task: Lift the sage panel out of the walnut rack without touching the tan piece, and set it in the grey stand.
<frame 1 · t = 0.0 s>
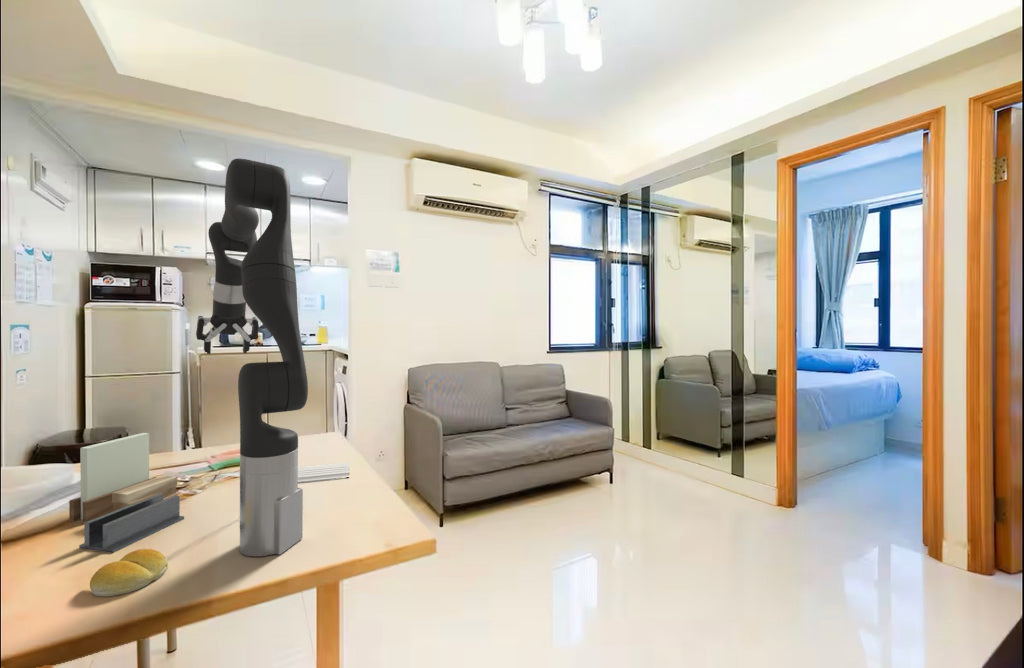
hand: (227, 352, 123), 31 cm above the table, tool tilted 20°, fingers open, 8 cm apart
walnut rack: (129, 515, 90), on the table
grey stand: (135, 540, 80), on the table
tan piece: (146, 510, 89), point 1 cm above the table, touching walnut rack
sage panel: (117, 507, 91), point 1 cm above the table, touching walnut rack
baseboard molding: (285, 481, 113), on the table
bread roll: (131, 582, 68), on the table
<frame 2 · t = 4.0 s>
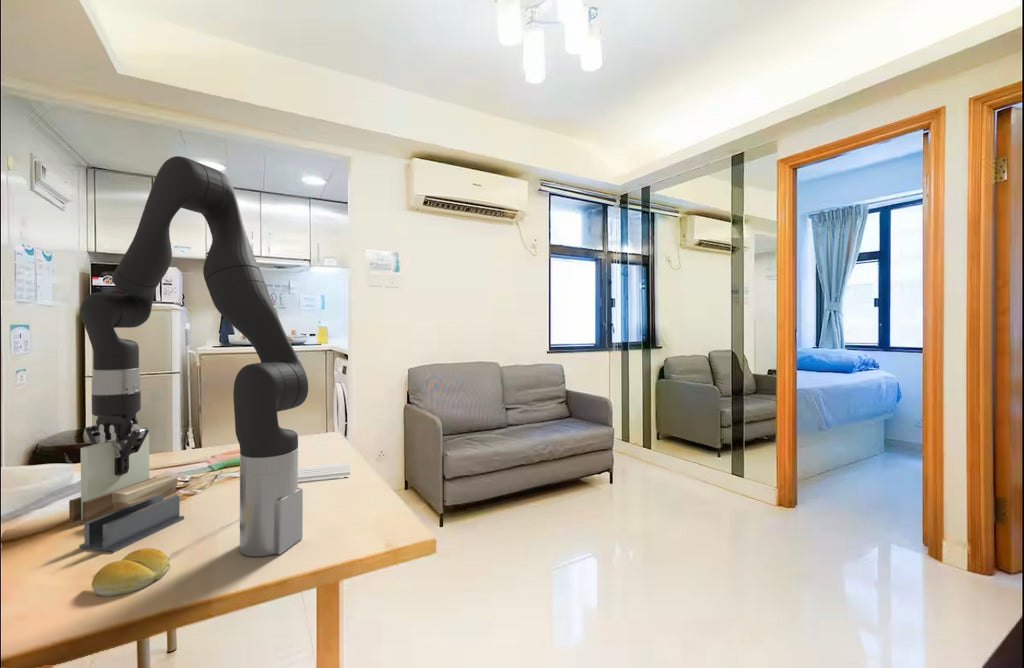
hand: (117, 473, 90), 9 cm above the table, tool pointing down, fingers closed on sage panel
sage panel: (117, 507, 91), point 2 cm above the table, touching gripper, walnut rack
everything else where it was.
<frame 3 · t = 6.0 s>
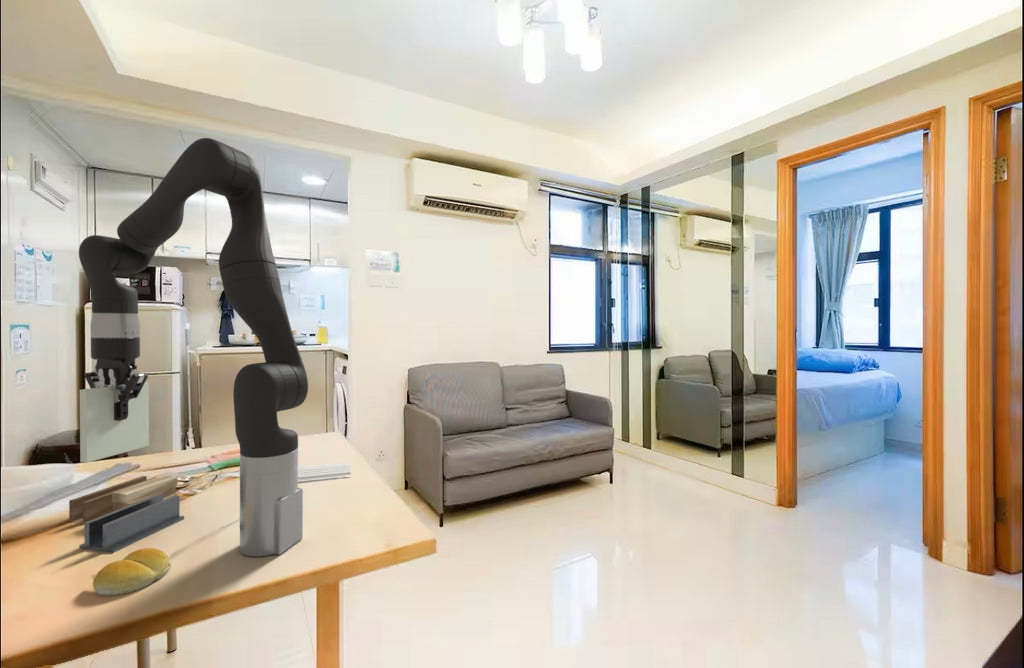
hand: (116, 419, 90), 20 cm above the table, tool pointing down, fingers closed on sage panel, 1 cm apart
sage panel: (117, 453, 90), point 13 cm above the table, touching gripper
everything else where it was.
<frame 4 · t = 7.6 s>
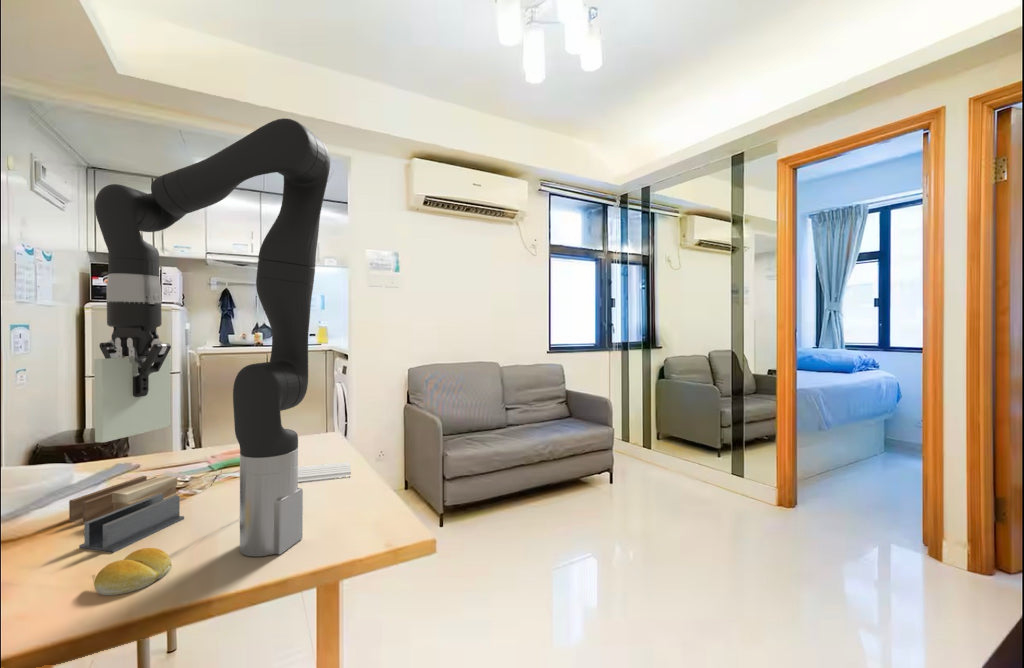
hand: (135, 395, 80), 27 cm above the table, tool pointing down, fingers closed on sage panel, 1 cm apart
sage panel: (135, 433, 80), point 20 cm above the table, touching gripper
everything else where it was.
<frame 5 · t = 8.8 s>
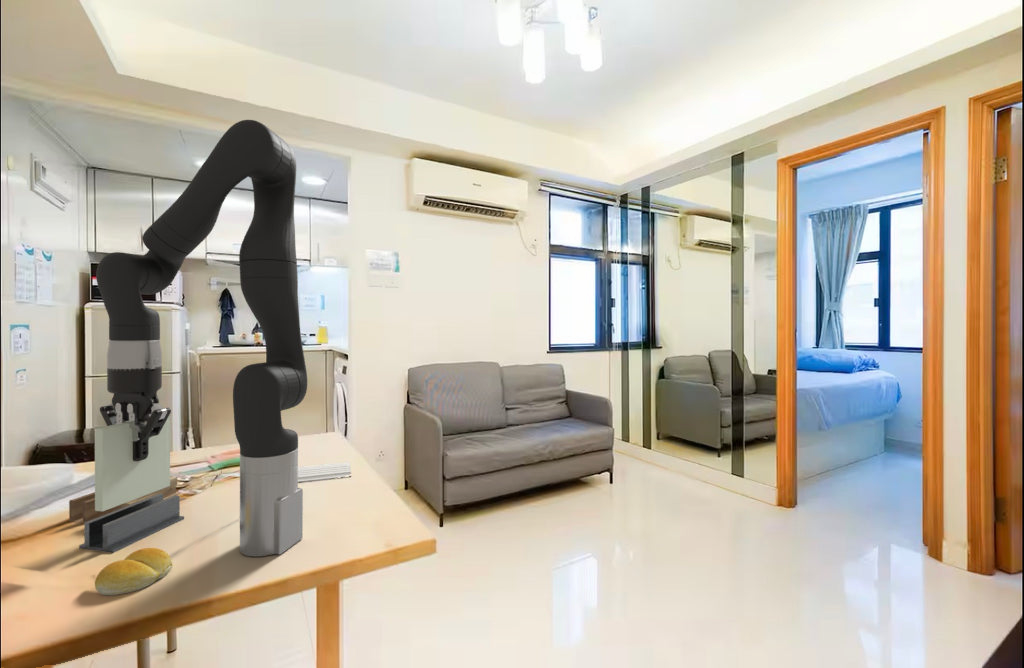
hand: (135, 459, 80), 15 cm above the table, tool pointing down, fingers closed on sage panel, 1 cm apart
sage panel: (135, 497, 80), point 8 cm above the table, touching gripper
everything else where it was.
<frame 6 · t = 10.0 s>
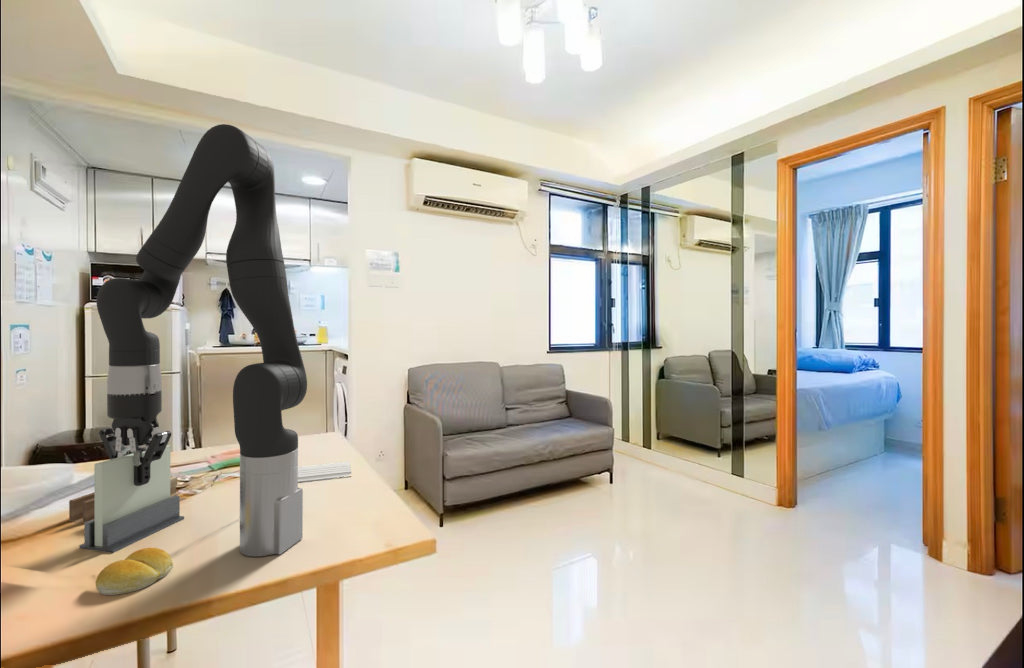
hand: (135, 483, 80), 11 cm above the table, tool pointing down, fingers closed
sage panel: (135, 529, 80), point 2 cm above the table, touching grey stand
everything else where it was.
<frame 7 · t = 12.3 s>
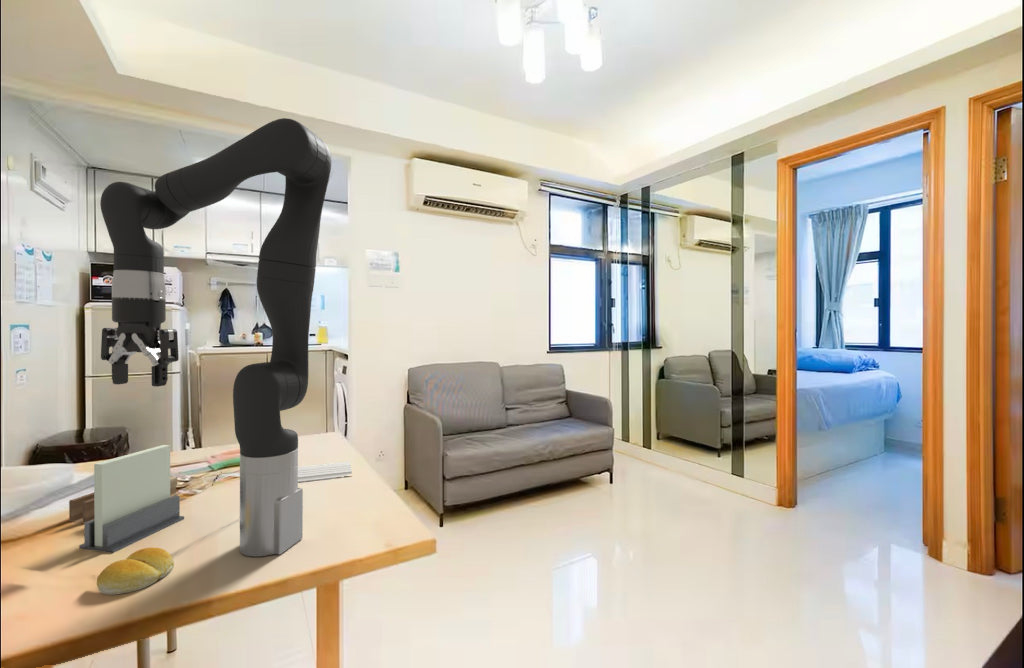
hand: (139, 384, 81), 28 cm above the table, tool pointing down, fingers open, 8 cm apart
nothing on the table moved.
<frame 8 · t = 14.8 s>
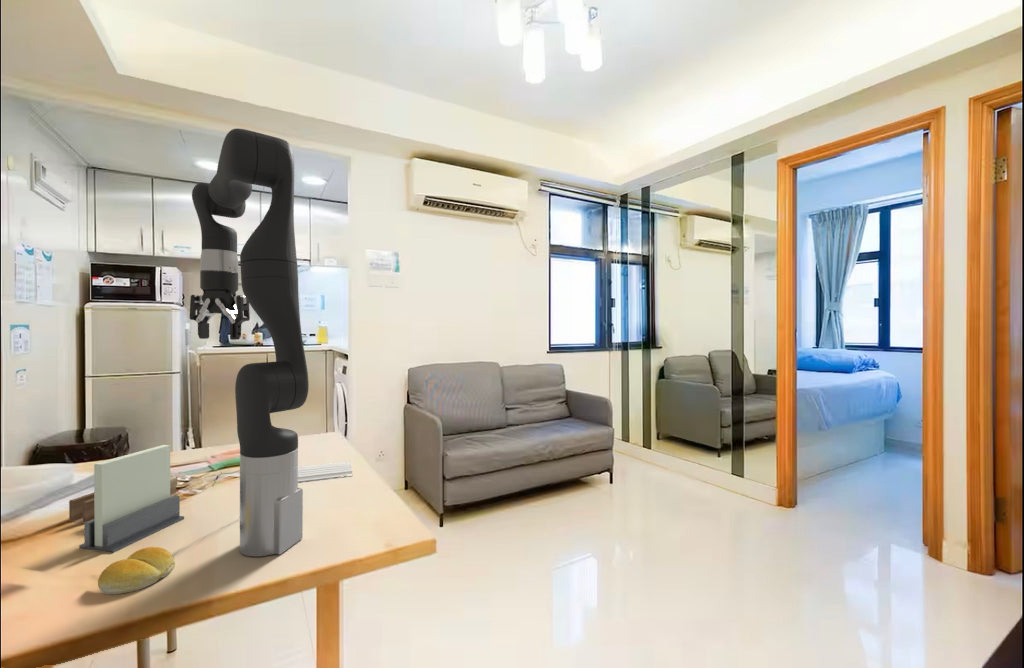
hand: (219, 339, 104), 36 cm above the table, tool pointing down, fingers open, 8 cm apart
nothing on the table moved.
at the end: sage panel 0.1 cm off-centre on the grey stand, point 2.0 cm above the grey stand's base; sage panel tilted 0°; tan piece moved 0.0 cm from its start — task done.
